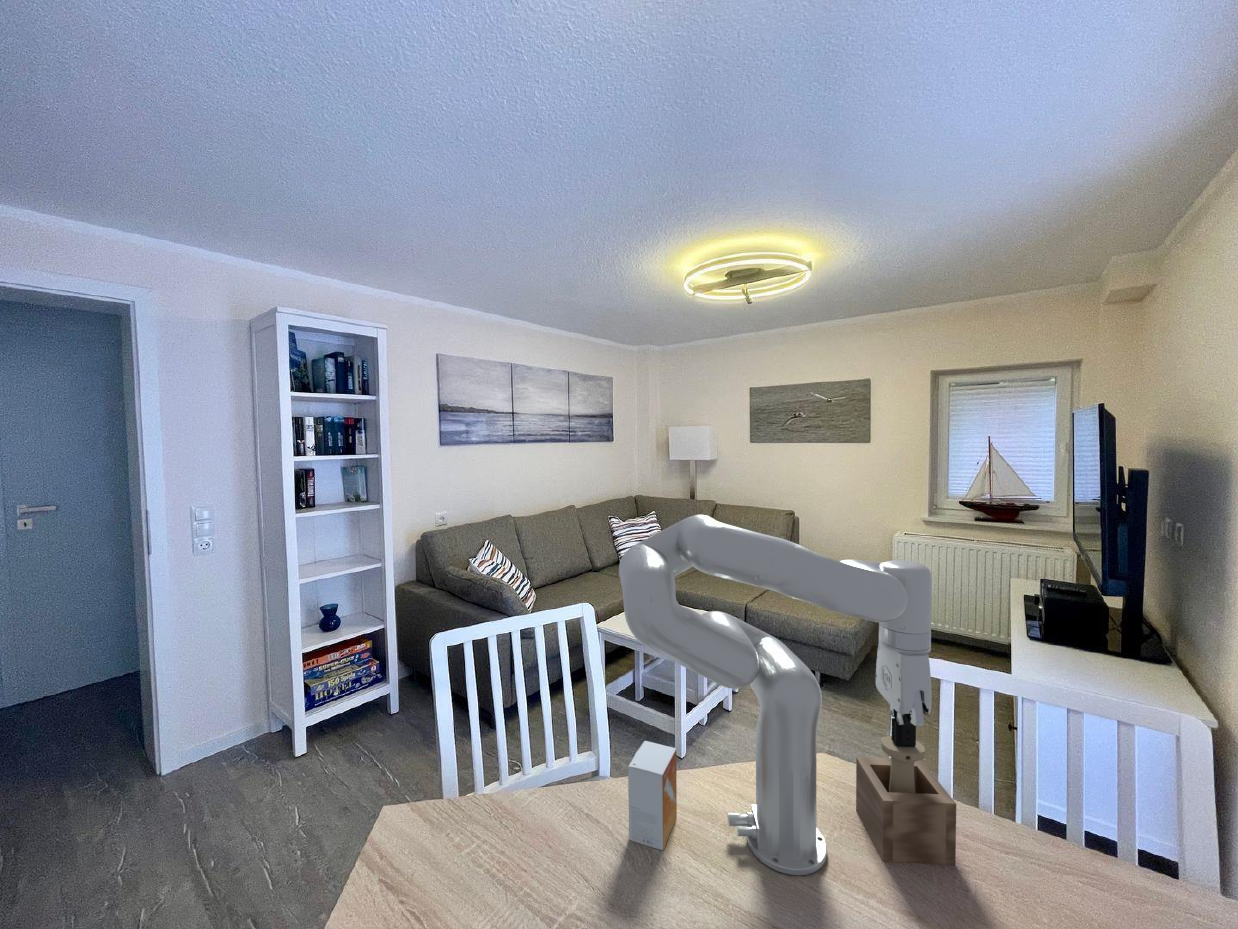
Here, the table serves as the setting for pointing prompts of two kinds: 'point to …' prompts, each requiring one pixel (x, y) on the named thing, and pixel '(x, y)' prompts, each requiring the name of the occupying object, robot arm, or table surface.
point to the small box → (652, 794)
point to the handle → (902, 764)
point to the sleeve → (906, 814)
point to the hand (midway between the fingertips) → (903, 743)
